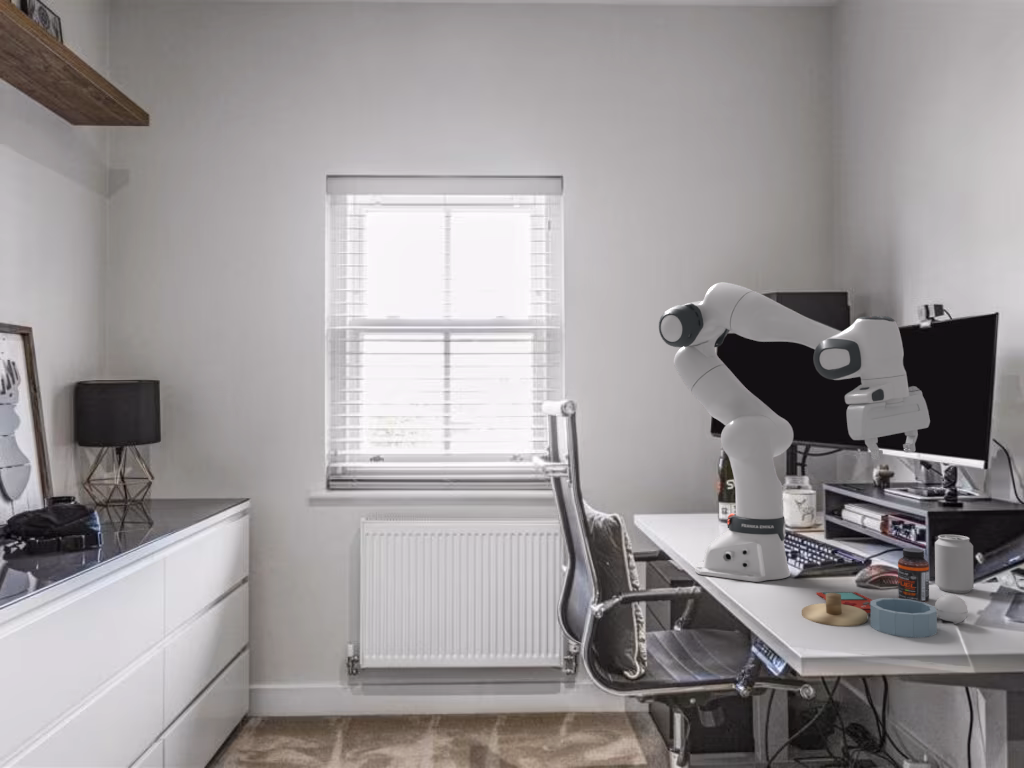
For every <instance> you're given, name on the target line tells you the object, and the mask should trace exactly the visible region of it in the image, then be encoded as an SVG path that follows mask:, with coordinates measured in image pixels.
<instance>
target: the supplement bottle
mask: <svg viewBox="0 0 1024 768" xmlns="http://www.w3.org/2000/svg"><path fill="white" fill-rule="evenodd" d="M924 551H925V550H924V549H921V548H917V547H905V548H903V549H902V557H900V558H899V559H898V561H897V598H901V599H911V600H915V601H920V602H925V603H928V602H929V601H930V564H929V562H928V560H926V558H925V552H924Z"/></svg>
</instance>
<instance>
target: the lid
mask: <svg viewBox="0 0 1024 768" xmlns="http://www.w3.org/2000/svg"><path fill="white" fill-rule="evenodd" d="M801 615H802V617H803V618H804V619H805V620H808V621H811V622H812V623H813V622H814V623H817V624H822V625H826V626H834V627H856V626H861V625H864V624H866V622H868V620H869V619H868V613H866V612H865V611H864V610H862V609H860V608H857V607H854V606H850V605H844V604H841V595H840V594H838V593H827V594H826V600H825V602H823V603H815V604H808V605H806V606H804V607H803V608H802V609H801Z"/></svg>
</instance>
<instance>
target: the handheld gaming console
mask: <svg viewBox="0 0 1024 768" xmlns="http://www.w3.org/2000/svg"><path fill="white" fill-rule="evenodd" d="M827 593H838V594H840V595H841V604H844V605H850V606H854V607H857V608H860V609H862V610H864V611H865V612H866V613H867V614H871V612H870V601H872V600H873V599H871V598H869V597H867V596H865V595H863V594H861V593H858V592H856V591H849V592H848V591H847V592H846V591H843V592H842V591H841V592H839V591H837V592H836V591H835V592H834V591H833V592H829V591H828V592H827V591H824V592H821V591H820V592H818V591H816V593H815V594H816V595H817V596H818V597H820V598H821V599H822V600H825V601H826V594H827Z"/></svg>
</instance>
